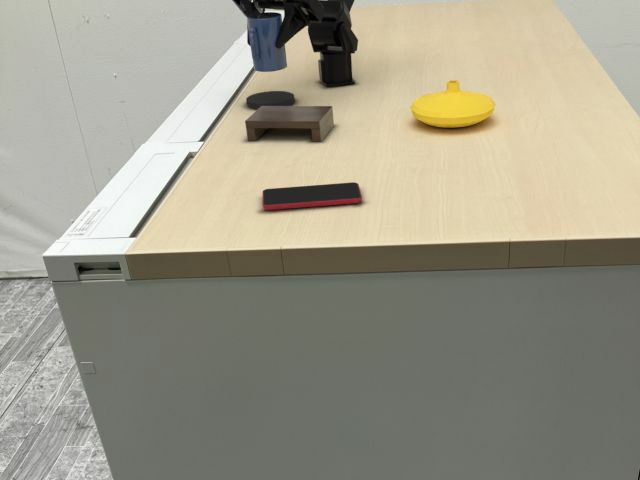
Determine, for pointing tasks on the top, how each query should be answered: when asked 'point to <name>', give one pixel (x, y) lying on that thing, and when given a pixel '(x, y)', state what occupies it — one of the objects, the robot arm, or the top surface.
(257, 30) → the mug
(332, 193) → the smartphone
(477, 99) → the vase
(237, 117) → the top surface
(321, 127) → the shelf
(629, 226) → the top surface
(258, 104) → the coaster
